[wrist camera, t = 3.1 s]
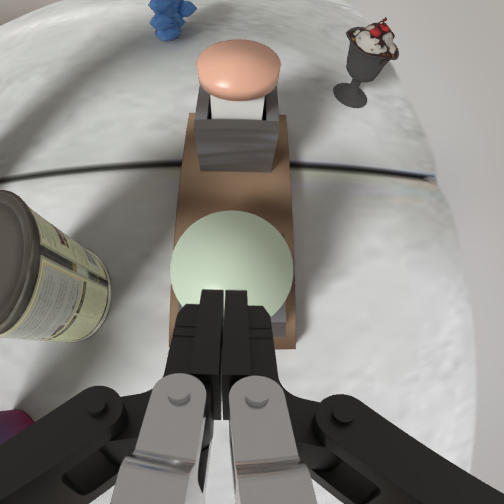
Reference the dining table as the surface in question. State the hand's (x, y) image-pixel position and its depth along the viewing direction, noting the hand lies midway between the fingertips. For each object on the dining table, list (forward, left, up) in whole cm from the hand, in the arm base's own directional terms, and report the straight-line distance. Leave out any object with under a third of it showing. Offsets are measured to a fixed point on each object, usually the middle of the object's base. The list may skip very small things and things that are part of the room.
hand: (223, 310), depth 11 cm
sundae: (+4, +33, -19) cm, 39 cm away
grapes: (-24, +36, -19) cm, 47 cm away
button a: (-1, +2, -12) cm, 13 cm away
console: (-3, +10, -18) cm, 21 cm away
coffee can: (-17, -4, -19) cm, 25 cm away
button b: (-6, +18, -12) cm, 22 cm away
